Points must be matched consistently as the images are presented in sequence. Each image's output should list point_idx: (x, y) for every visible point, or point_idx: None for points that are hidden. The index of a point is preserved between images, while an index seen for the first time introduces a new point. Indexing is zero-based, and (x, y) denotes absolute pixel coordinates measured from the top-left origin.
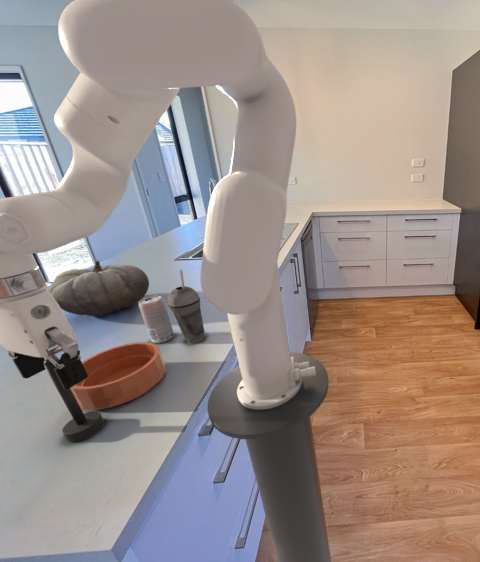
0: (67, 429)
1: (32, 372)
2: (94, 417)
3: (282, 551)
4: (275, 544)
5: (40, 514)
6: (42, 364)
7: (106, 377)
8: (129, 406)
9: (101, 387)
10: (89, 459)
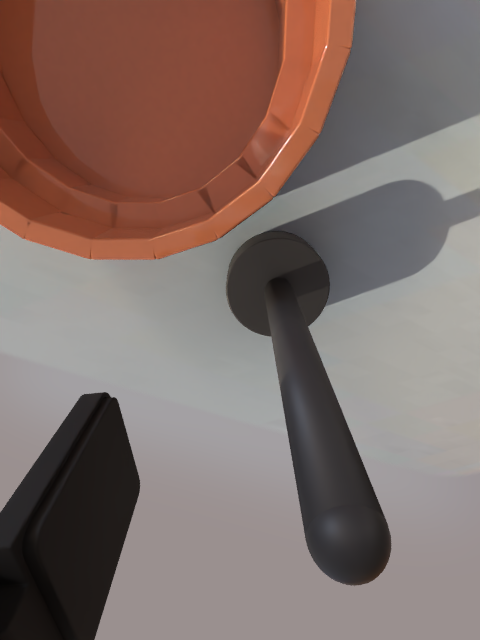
0: (267, 324)
1: (128, 476)
2: (298, 260)
3: None
4: None
5: (434, 435)
6: (104, 439)
7: (9, 60)
8: None
9: (272, 197)
10: (401, 332)
